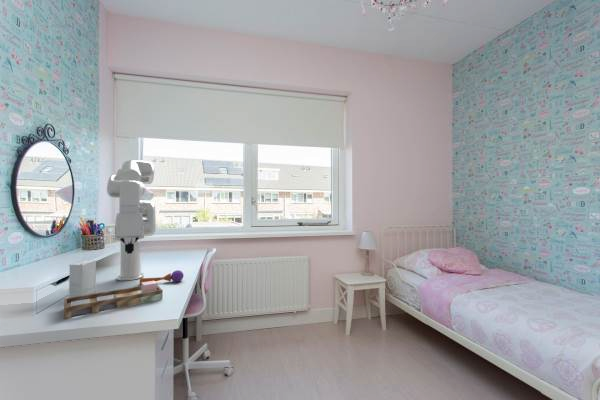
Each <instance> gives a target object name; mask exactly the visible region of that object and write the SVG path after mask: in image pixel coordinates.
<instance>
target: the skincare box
mask: <svg viewBox="0 0 600 400" xmlns="http://www.w3.org/2000/svg"><path fill="white" fill-rule="evenodd" d="M68 274H69V277H68V279H69V280H68V283H69V284H68V286H69V288H68V289H69V290H68V298H71V297H77V296H83V295H89V294H95V293H97V292H96V286H97V285H96V284H97V283H96V282H97V260H90V259H89V260H87V259H83V260H80V261H78V262H74V263H70V264H69V273H68Z"/></svg>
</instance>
